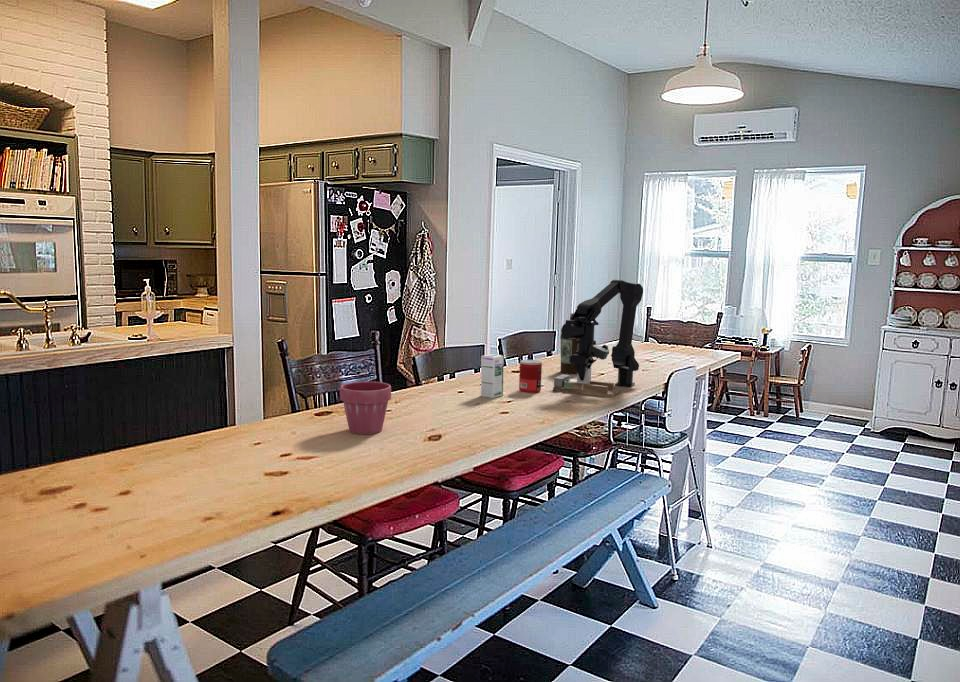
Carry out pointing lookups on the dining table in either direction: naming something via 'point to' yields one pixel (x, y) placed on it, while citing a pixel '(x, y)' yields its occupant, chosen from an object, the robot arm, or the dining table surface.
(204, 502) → the dining table surface
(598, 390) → the gauge bench
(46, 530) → the dining table surface
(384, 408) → the plant pot
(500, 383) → the syrup box
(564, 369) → the olive oil
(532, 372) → the canned food
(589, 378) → the pale grey cube box
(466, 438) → the dining table surface
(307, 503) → the dining table surface
